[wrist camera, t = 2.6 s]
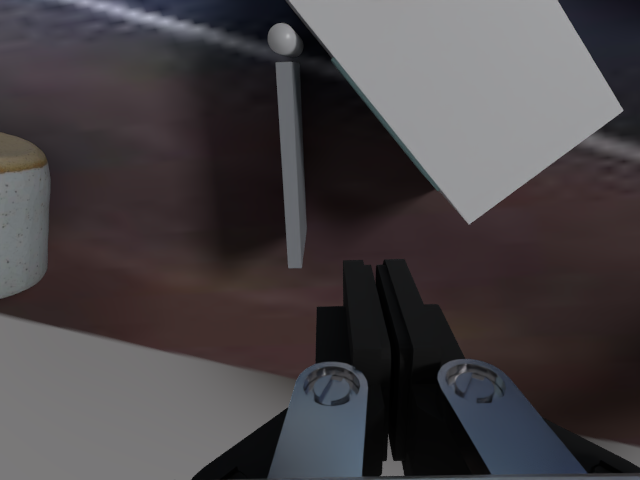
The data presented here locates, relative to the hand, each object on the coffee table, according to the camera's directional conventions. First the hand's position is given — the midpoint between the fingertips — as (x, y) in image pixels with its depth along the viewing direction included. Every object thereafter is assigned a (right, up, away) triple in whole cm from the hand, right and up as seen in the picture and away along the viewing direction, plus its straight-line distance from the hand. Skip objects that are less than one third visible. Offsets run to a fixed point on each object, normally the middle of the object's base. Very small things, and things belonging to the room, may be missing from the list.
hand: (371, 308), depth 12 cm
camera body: (+4, +12, +12) cm, 18 cm away
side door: (-3, +8, +14) cm, 16 cm away
